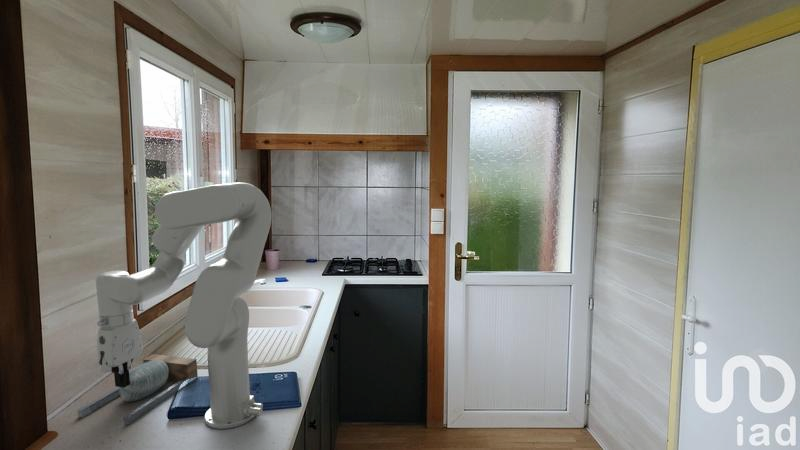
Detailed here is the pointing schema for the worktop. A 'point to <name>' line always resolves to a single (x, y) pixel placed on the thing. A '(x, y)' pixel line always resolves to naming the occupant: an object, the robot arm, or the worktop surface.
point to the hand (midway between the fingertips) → (122, 385)
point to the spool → (145, 380)
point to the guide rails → (137, 412)
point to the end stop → (176, 366)
